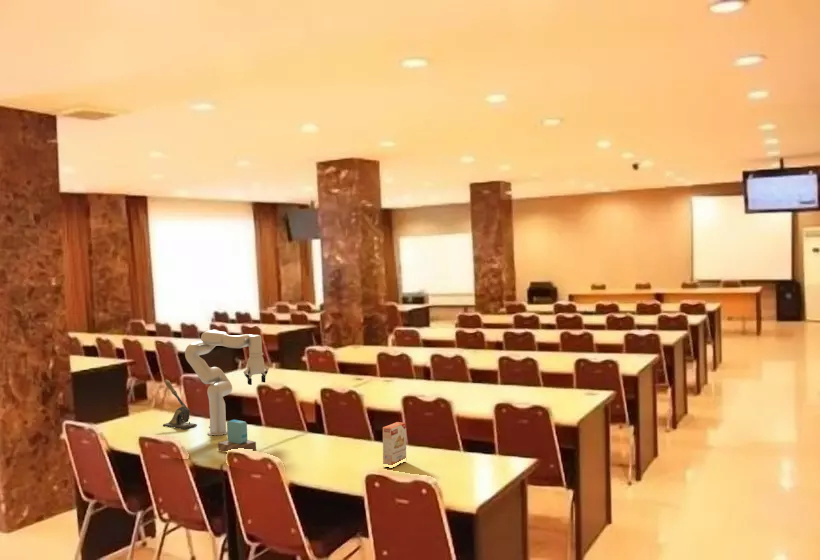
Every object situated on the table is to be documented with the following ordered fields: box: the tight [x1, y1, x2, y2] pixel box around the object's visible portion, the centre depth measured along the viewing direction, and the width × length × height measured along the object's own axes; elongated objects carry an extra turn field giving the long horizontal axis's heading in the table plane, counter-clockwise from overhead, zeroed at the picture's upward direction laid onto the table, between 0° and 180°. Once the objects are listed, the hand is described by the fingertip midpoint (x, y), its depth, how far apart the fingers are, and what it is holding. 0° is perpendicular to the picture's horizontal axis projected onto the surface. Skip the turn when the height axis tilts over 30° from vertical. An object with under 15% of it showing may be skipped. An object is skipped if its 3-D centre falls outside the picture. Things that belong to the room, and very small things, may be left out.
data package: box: [226, 419, 248, 444], centre depth 406 cm, size 12×4×12 cm, turn 53°
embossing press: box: [162, 379, 198, 430], centre depth 468 cm, size 11×24×30 cm, turn 54°
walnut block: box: [217, 439, 257, 452], centre depth 406 cm, size 16×14×5 cm
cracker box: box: [382, 421, 407, 465], centre depth 369 cm, size 14×6×21 cm, turn 148°
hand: (256, 383), depth 435 cm, fingers open, 9 cm apart
